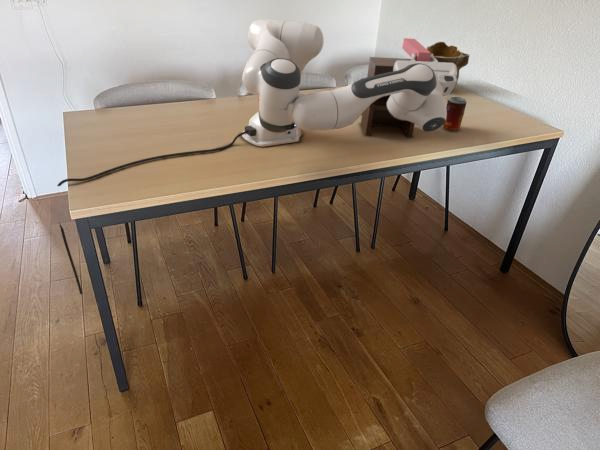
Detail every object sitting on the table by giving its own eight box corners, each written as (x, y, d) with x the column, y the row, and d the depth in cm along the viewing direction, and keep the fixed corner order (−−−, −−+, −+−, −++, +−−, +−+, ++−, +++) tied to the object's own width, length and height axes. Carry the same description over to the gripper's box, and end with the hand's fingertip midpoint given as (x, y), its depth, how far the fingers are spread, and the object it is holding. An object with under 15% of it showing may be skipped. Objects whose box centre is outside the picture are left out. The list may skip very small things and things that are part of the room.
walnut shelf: (412, 137, 171) (426, 67, 156) (365, 135, 170) (375, 65, 155) (404, 125, 181) (417, 59, 166) (360, 124, 180) (369, 57, 165)
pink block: (428, 63, 148) (431, 52, 146) (416, 63, 148) (419, 52, 146) (412, 48, 166) (414, 38, 164) (402, 48, 166) (403, 38, 164)
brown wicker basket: (457, 84, 205) (437, 32, 203) (417, 105, 225) (398, 58, 223) (483, 76, 217) (464, 27, 216) (443, 96, 237) (425, 52, 236)
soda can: (445, 124, 185) (452, 94, 178) (461, 128, 181) (470, 98, 174) (438, 128, 180) (445, 98, 173) (455, 133, 177) (463, 103, 170)
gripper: (392, 91, 145) (389, 60, 151) (454, 94, 146) (448, 63, 152) (398, 77, 139) (393, 45, 145) (462, 80, 140) (455, 48, 147)
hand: (422, 54), depth 149 cm, fingers closed on pink block, 4 cm apart
